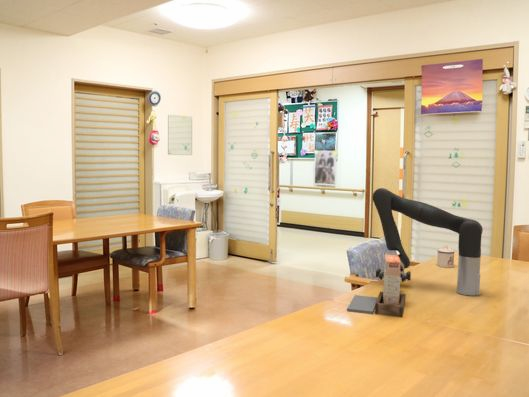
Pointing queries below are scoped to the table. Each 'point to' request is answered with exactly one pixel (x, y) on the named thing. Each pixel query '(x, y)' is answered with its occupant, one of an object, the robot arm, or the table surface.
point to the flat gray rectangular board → (362, 304)
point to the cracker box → (391, 280)
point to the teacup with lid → (445, 257)
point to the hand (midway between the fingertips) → (391, 278)
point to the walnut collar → (390, 306)
